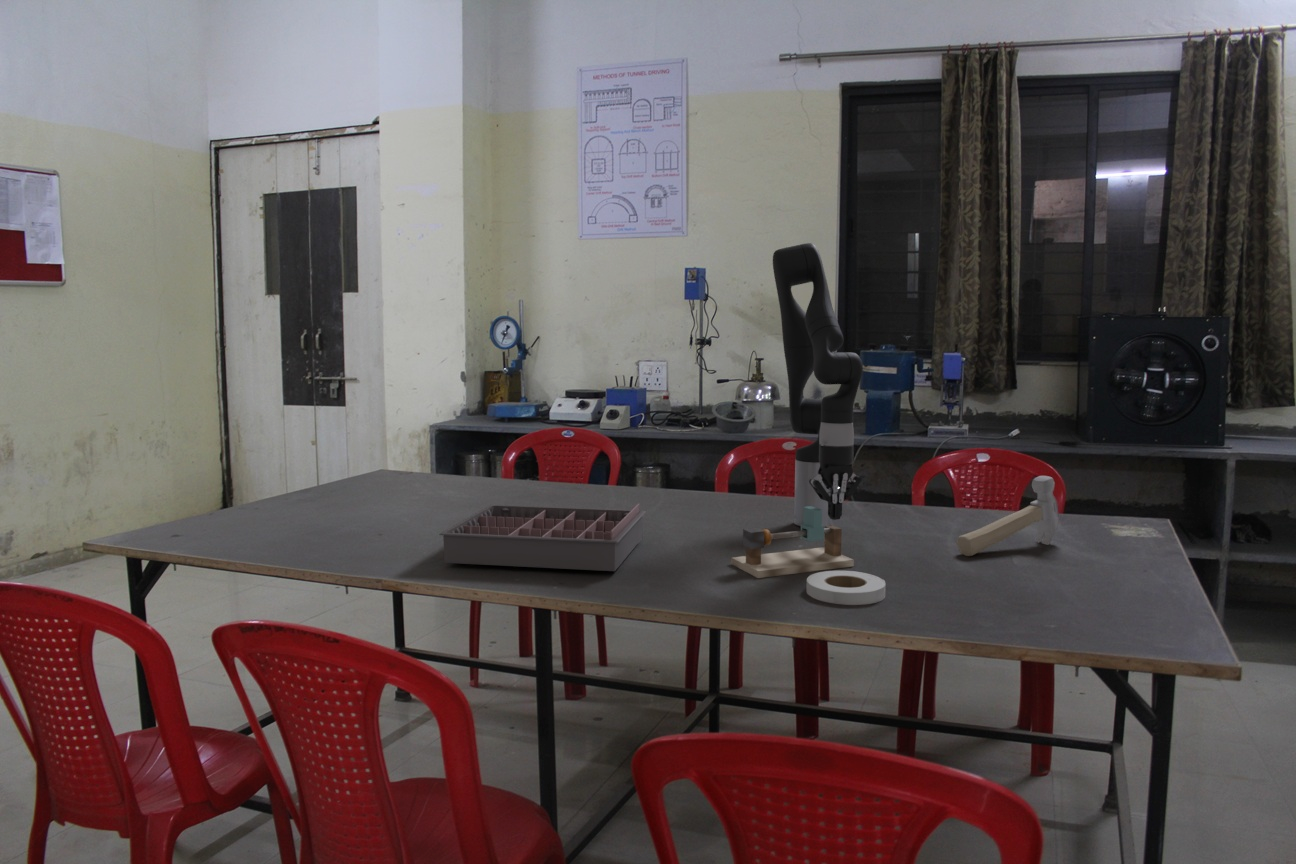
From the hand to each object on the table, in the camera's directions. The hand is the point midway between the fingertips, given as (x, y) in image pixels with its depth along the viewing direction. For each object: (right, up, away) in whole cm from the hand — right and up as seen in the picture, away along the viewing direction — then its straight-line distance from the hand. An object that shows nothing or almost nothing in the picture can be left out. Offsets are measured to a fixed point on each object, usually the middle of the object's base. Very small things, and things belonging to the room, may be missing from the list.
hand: (834, 518), depth 210 cm
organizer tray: (-65, -9, +7) cm, 66 cm away
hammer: (+43, -8, +12) cm, 46 cm away
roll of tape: (-3, -13, -23) cm, 27 cm away
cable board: (-10, -10, -3) cm, 14 cm away
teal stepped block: (-5, -4, -2) cm, 7 cm away
